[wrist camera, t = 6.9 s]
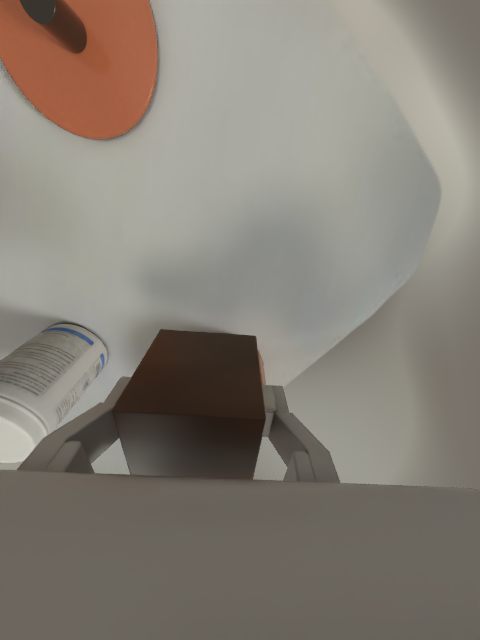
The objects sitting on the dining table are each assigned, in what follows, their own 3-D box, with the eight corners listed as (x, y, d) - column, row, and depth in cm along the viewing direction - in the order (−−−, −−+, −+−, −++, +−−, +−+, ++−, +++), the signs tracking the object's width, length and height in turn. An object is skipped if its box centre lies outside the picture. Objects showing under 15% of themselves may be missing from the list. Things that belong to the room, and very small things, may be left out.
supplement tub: (31, 332, 33) (-105, 419, 20) (82, 312, 31) (-31, 393, 18) (76, 377, 37) (-12, 472, 24) (123, 362, 35) (55, 455, 22)
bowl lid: (149, -91, 15) (117, -194, 11) (167, 147, 22) (150, 135, 18) (-46, -115, 15) (-152, -230, 11) (30, 135, 21) (-18, 120, 17)
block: (256, 335, 11) (266, 418, 7) (246, 400, 14) (250, 493, 10) (160, 328, 11) (110, 410, 7) (167, 396, 14) (134, 489, 9)
